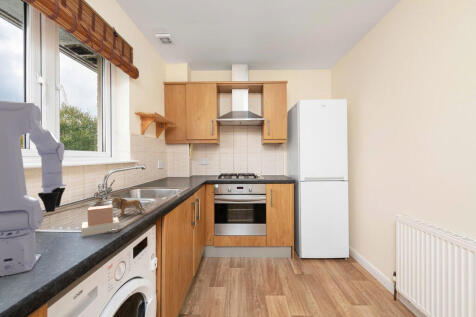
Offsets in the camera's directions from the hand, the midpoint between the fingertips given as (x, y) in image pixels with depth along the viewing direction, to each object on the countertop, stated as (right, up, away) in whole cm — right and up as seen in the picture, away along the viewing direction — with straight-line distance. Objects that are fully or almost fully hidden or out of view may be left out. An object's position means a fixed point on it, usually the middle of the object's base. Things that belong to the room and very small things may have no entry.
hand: (53, 209), depth 79 cm
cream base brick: (+15, -10, +5) cm, 18 cm away
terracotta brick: (+15, -6, +4) cm, 17 cm away
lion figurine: (+14, -9, +27) cm, 31 cm away
